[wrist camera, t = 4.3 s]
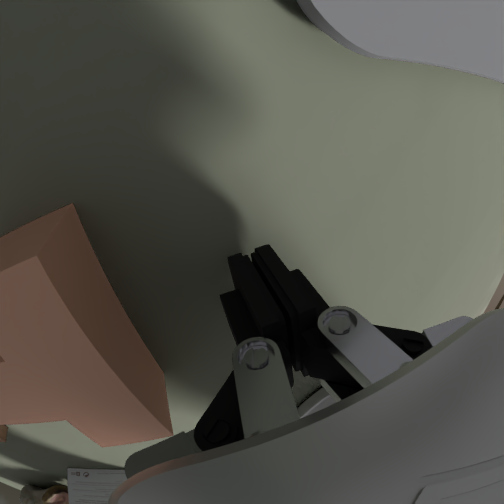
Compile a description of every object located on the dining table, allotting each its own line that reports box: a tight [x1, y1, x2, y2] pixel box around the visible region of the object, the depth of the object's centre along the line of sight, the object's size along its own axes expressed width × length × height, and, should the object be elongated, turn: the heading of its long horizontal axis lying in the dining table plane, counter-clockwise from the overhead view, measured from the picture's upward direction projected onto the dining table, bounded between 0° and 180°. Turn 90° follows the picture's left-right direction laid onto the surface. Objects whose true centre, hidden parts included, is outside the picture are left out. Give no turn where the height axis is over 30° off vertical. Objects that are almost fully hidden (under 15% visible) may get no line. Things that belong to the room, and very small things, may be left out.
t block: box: [0, 203, 173, 447], centre depth 9 cm, size 10×12×4 cm
